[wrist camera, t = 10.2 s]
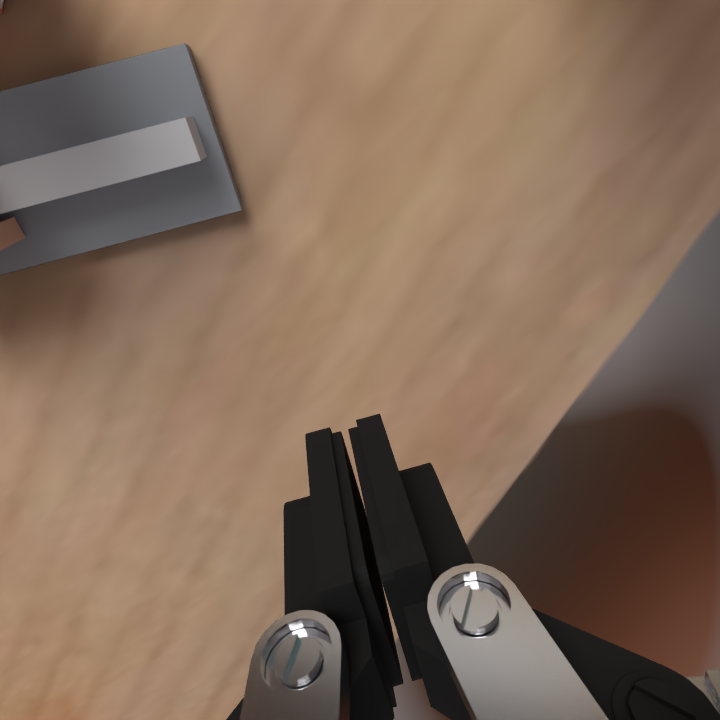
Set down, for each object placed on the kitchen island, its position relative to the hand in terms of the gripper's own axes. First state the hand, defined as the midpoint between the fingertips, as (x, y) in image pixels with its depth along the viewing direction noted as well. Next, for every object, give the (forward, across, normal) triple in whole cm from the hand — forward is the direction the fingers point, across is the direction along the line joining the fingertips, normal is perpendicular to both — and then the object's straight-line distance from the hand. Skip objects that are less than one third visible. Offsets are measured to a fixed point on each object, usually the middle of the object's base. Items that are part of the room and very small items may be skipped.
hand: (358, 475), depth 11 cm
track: (+29, +15, -7) cm, 33 cm away
